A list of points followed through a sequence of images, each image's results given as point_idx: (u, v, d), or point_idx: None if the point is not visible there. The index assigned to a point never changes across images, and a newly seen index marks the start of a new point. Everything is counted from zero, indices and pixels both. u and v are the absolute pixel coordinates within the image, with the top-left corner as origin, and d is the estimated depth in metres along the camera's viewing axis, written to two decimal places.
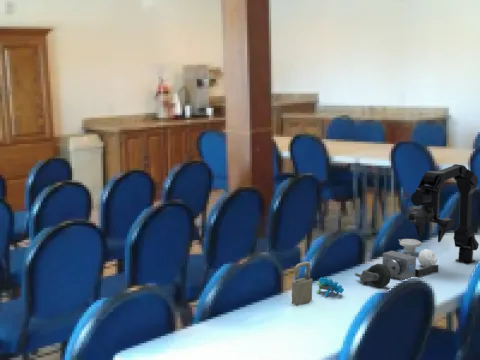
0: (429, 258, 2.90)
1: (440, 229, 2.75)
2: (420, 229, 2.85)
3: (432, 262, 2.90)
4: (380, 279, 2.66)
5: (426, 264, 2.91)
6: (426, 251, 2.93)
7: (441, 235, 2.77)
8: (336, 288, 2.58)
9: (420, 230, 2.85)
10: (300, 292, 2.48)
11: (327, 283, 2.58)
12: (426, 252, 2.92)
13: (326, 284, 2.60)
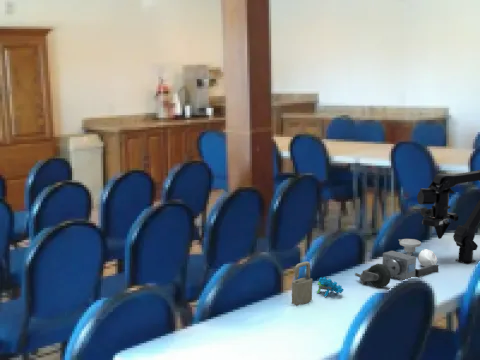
0: (429, 258, 2.90)
1: None
2: None
3: (432, 262, 2.90)
4: (380, 279, 2.66)
5: (426, 264, 2.91)
6: (426, 251, 2.93)
7: (437, 232, 2.97)
8: (336, 288, 2.58)
9: None
10: (300, 292, 2.48)
11: (327, 283, 2.58)
12: (426, 252, 2.92)
13: (326, 284, 2.60)
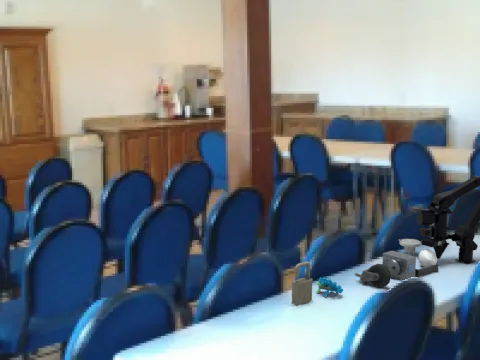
0: (429, 258, 2.90)
1: None
2: None
3: (432, 262, 2.90)
4: (380, 279, 2.66)
5: (426, 264, 2.91)
6: (426, 251, 2.93)
7: (436, 252, 2.98)
8: (335, 288, 2.58)
9: None
10: (300, 292, 2.48)
11: (326, 283, 2.58)
12: (426, 252, 2.92)
13: (326, 284, 2.60)
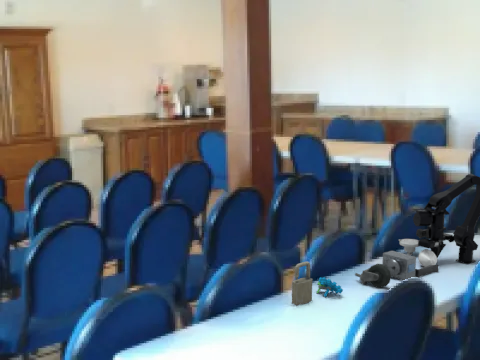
0: (429, 258, 2.90)
1: None
2: None
3: (432, 262, 2.90)
4: (380, 279, 2.66)
5: (426, 264, 2.91)
6: (426, 251, 2.93)
7: None
8: (335, 288, 2.58)
9: None
10: (300, 292, 2.48)
11: (326, 283, 2.58)
12: (425, 252, 2.92)
13: (325, 284, 2.60)
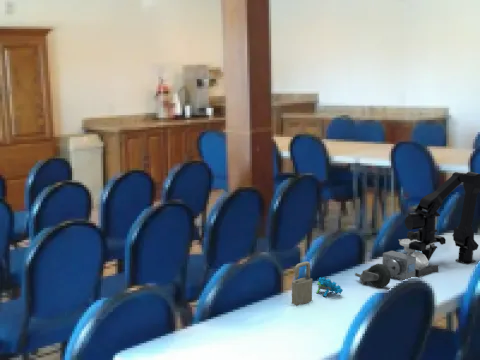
0: (420, 261, 2.86)
1: None
2: None
3: (423, 265, 2.86)
4: (380, 279, 2.66)
5: (417, 267, 2.87)
6: (417, 254, 2.88)
7: None
8: (335, 288, 2.58)
9: None
10: (300, 292, 2.48)
11: (326, 283, 2.58)
12: (416, 254, 2.88)
13: (325, 284, 2.60)
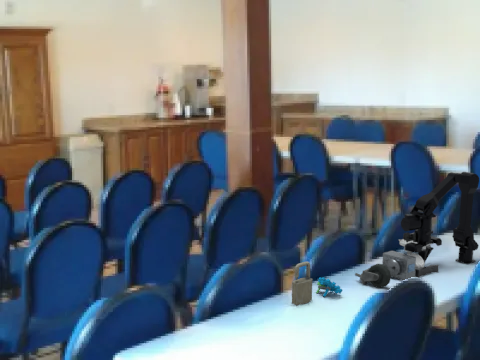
0: (416, 262, 2.84)
1: None
2: None
3: (419, 266, 2.85)
4: (380, 279, 2.66)
5: None
6: (413, 255, 2.87)
7: None
8: (335, 288, 2.57)
9: None
10: (300, 292, 2.48)
11: (326, 283, 2.58)
12: None
13: (325, 284, 2.60)
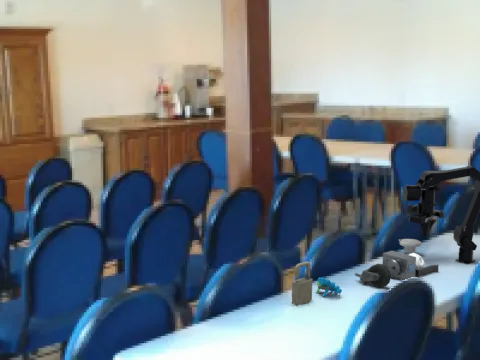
0: (416, 262, 2.84)
1: None
2: None
3: (419, 266, 2.84)
4: (380, 279, 2.66)
5: None
6: (413, 255, 2.87)
7: (423, 229, 2.98)
8: (334, 288, 2.57)
9: None
10: (300, 292, 2.48)
11: (325, 283, 2.58)
12: None
13: (325, 284, 2.59)
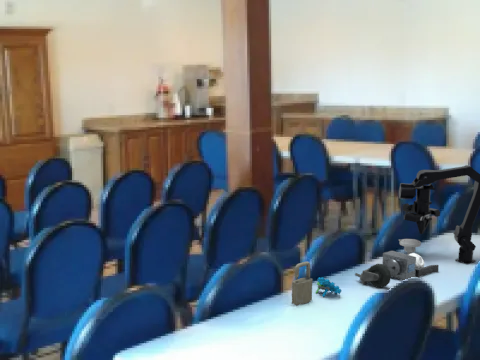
0: (416, 262, 2.84)
1: None
2: None
3: (419, 266, 2.84)
4: (380, 279, 2.66)
5: None
6: (413, 255, 2.87)
7: (419, 227, 3.01)
8: (334, 289, 2.57)
9: None
10: (300, 292, 2.48)
11: (325, 283, 2.58)
12: None
13: (324, 284, 2.59)
